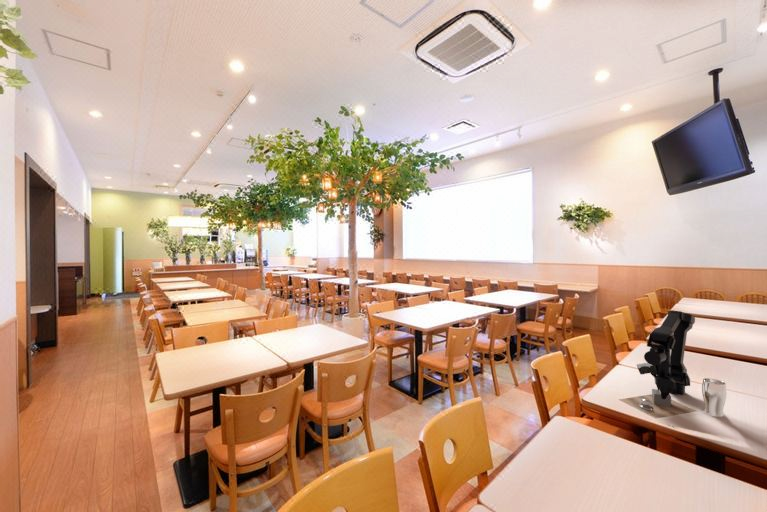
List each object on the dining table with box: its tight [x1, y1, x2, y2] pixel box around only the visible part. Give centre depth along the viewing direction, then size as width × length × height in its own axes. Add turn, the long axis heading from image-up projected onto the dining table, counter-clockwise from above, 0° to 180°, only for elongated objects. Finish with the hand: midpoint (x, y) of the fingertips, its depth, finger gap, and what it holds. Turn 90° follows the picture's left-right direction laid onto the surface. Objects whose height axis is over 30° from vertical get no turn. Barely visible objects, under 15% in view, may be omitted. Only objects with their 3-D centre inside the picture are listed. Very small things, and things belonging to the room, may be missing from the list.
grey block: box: [651, 388, 672, 407], centre depth 140 cm, size 6×6×5 cm
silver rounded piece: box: [638, 398, 653, 410], centre depth 137 cm, size 5×5×3 cm
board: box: [618, 393, 697, 419], centre depth 138 cm, size 22×16×2 cm
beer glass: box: [701, 377, 727, 418], centre depth 130 cm, size 7×7×15 cm
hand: (661, 394), depth 140 cm, fingers open, 9 cm apart
